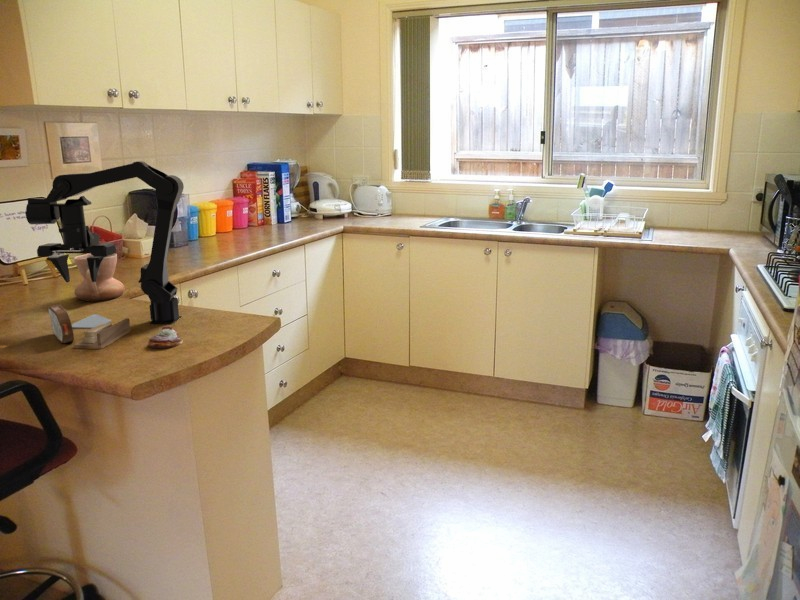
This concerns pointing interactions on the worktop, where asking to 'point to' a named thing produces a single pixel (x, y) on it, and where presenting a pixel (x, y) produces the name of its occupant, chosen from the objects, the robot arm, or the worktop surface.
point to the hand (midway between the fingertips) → (81, 282)
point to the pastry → (165, 339)
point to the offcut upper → (96, 329)
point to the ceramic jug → (98, 280)
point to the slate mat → (90, 322)
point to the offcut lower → (89, 339)
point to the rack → (108, 335)
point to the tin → (61, 323)
